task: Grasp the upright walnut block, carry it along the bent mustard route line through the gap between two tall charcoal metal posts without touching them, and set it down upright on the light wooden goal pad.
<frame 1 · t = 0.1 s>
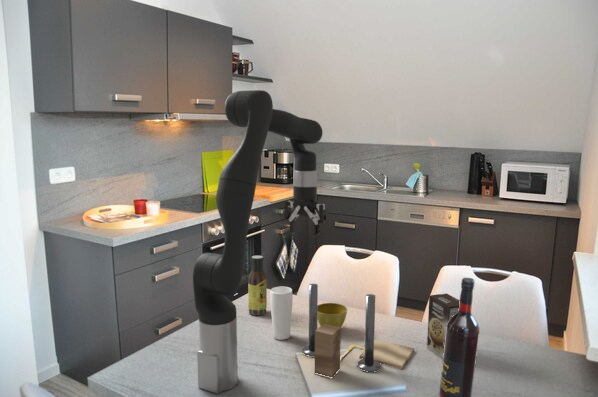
hand: (304, 234, 155), 29 cm above the table, fingers open, 8 cm apart
drinking glass: (281, 337, 146), on the table
coffee box: (444, 353, 136), on the table
sauce bottle: (257, 313, 165), on the table
goal pad: (387, 354, 135), on the table
route line: (344, 354, 135), on the table
walnut block: (327, 372, 126), on the table
post right: (368, 366, 128), on the table
flower pot: (330, 330, 151), on the table
post left: (312, 352, 137), on the table
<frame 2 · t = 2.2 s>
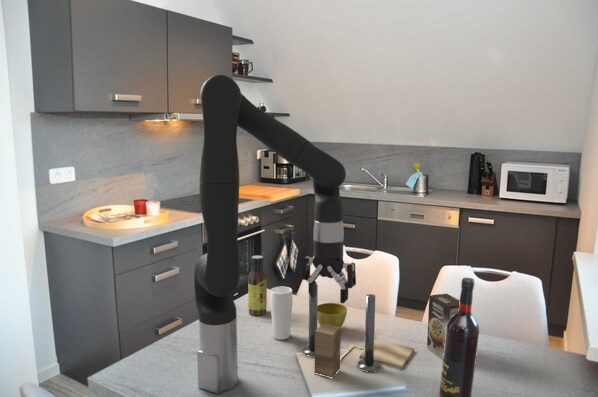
hand: (328, 299, 123), 20 cm above the table, fingers open, 8 cm apart
nothing on the table moved.
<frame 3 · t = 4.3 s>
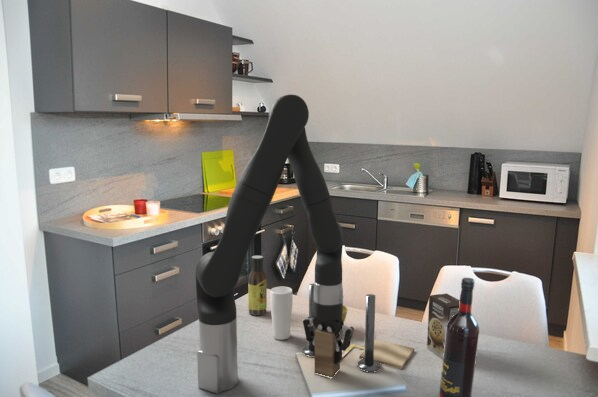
hand: (327, 360, 125), 3 cm above the table, fingers closed on walnut block, 5 cm apart
walnut block: (327, 372, 126), on the table, touching gripper
everything else where it was.
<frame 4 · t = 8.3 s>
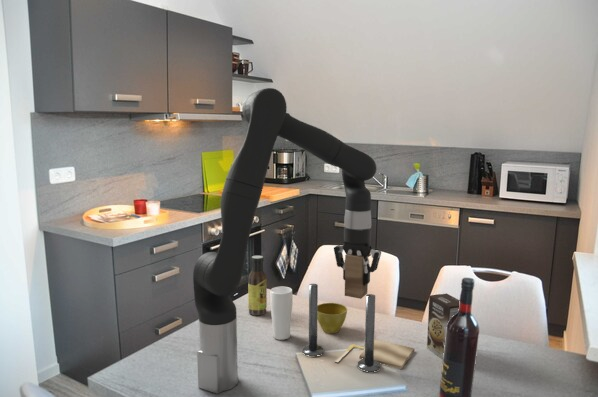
hand: (356, 283, 137), 19 cm above the table, fingers closed on walnut block, 5 cm apart
walnut block: (356, 294, 138), point 16 cm above the table, touching gripper
everything else where it was.
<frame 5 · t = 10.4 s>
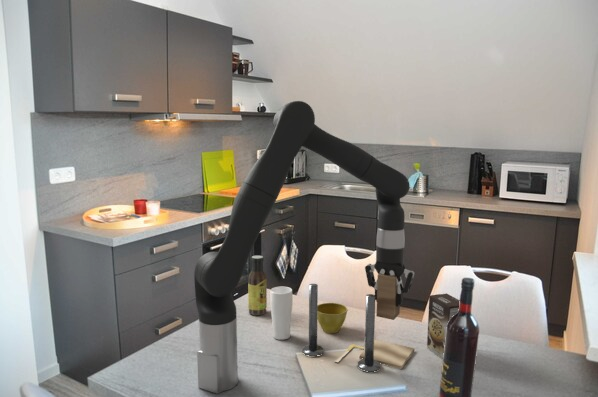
hand: (388, 303, 133), 15 cm above the table, fingers closed on walnut block, 5 cm apart
walnut block: (388, 315, 133), point 12 cm above the table, touching gripper
everything else where it was.
when the fingers open (6 cm above the table, at t = 12.4 s): walnut block drops 2 cm, resting on goal pad.
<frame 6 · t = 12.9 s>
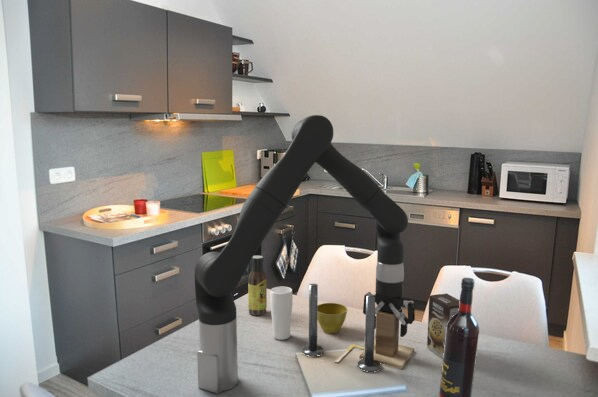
hand: (387, 332, 134), 7 cm above the table, fingers open, 8 cm apart
walnut block: (386, 351, 135), point 1 cm above the table, touching goal pad
everything else where it was.
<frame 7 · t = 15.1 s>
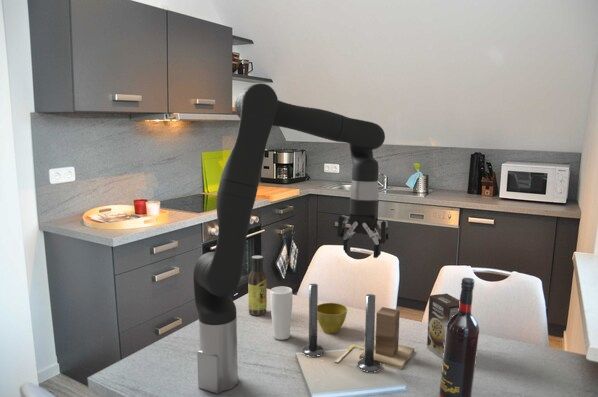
hand: (361, 254, 132), 29 cm above the table, fingers open, 8 cm apart
nothing on the table moved.
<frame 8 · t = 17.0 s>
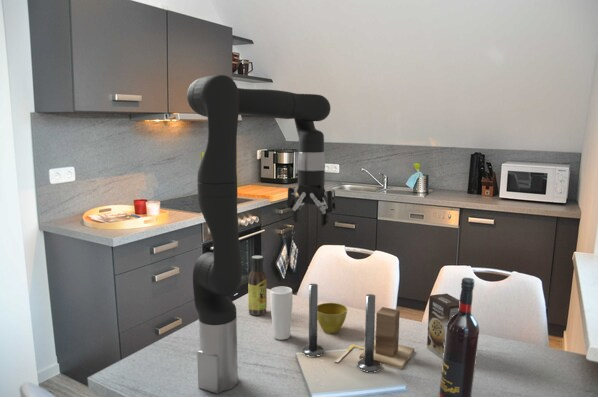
hand: (310, 224, 136), 36 cm above the table, fingers open, 8 cm apart
nothing on the table moved.
at the end: walnut block inside the target area on the goal pad (0.1 cm from its centre), point 0.8 cm above the goal pad's base; walnut block tilted 0°; the gripper is holding nothing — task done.
